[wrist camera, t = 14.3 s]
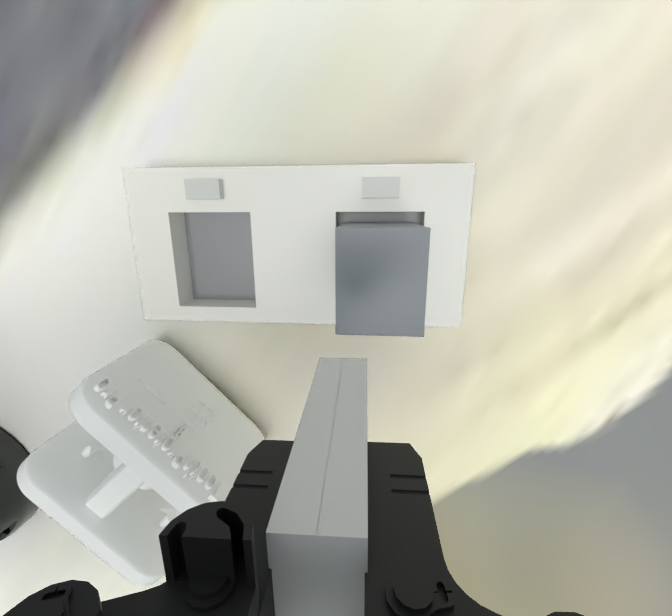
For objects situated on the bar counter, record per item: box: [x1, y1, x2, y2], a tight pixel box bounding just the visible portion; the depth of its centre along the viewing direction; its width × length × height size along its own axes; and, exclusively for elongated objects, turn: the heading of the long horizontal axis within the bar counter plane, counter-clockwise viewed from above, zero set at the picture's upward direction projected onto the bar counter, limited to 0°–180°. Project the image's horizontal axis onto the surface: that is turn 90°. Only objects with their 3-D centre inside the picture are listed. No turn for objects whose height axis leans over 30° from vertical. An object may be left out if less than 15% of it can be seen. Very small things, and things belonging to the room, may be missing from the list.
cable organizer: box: [17, 340, 265, 586], centre depth 31 cm, size 15×11×12 cm
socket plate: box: [122, 163, 475, 327], centre depth 29 cm, size 26×12×4 cm, turn 90°
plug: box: [335, 222, 431, 337], centre depth 25 cm, size 5×6×10 cm
